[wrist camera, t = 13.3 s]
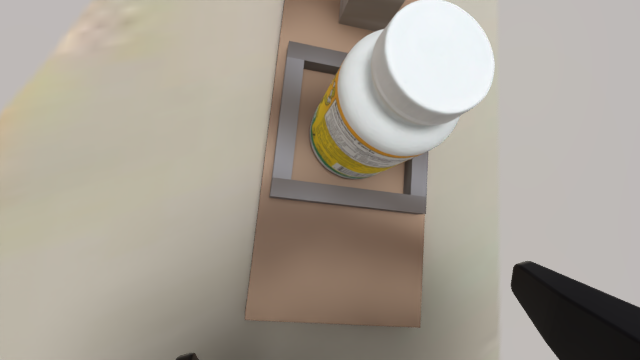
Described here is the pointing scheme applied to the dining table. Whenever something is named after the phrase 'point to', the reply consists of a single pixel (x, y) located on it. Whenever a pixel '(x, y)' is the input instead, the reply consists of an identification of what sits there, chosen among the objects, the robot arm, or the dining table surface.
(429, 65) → the supplement bottle
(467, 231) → the dining table surface
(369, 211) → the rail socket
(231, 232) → the dining table surface
